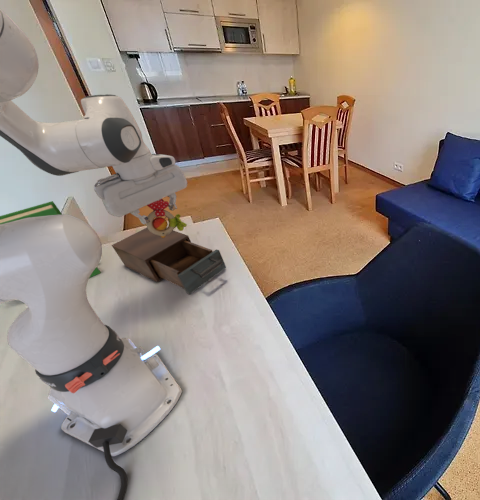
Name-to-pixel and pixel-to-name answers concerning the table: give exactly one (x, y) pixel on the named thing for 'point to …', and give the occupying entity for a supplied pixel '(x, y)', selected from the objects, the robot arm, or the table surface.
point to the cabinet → (146, 250)
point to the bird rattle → (163, 219)
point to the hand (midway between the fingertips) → (160, 215)
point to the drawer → (188, 265)
